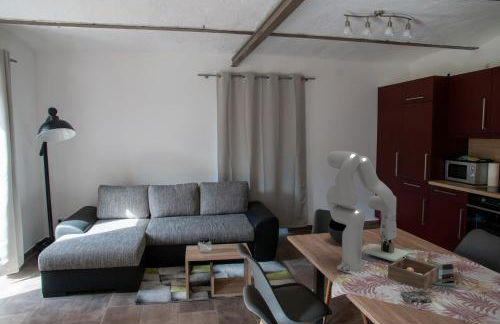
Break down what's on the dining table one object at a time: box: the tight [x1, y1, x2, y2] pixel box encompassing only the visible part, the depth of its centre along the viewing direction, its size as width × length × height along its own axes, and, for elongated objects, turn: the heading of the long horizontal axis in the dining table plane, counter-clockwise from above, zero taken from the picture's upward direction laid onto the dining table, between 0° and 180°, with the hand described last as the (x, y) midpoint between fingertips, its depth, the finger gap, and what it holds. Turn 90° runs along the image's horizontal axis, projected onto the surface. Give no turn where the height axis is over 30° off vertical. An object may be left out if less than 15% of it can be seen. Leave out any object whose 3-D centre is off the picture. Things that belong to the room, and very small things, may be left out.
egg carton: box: [399, 288, 433, 305], centre depth 135 cm, size 11×8×4 cm
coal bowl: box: [327, 218, 346, 245], centre depth 206 cm, size 20×20×19 cm
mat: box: [362, 252, 417, 263], centre depth 182 cm, size 22×22×1 cm
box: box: [387, 257, 440, 290], centre depth 153 cm, size 16×16×7 cm
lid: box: [364, 241, 411, 263], centre depth 181 cm, size 17×17×6 cm
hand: (387, 250), depth 181 cm, fingers closed on lid, 3 cm apart
